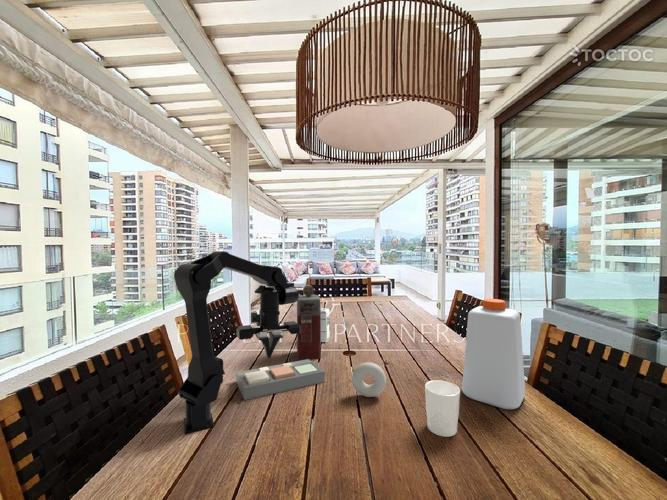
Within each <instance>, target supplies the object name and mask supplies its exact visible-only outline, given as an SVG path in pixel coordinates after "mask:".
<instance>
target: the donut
mask: <svg viewBox="0 0 667 500" xmlns="http://www.w3.org/2000/svg"><path fill="white" fill-rule="evenodd" d="M368 375H369V376H372V377H373V378H374V381H373V383H372V384H367V383H365V382H364V377H365V376H368ZM351 383H352V386H353V388H354V390H355V391H356V392H357V393H358V394H359V395H361V396H363V397H366V398H371V397H372V398H374V397H377V396H379V395H380V394H381V393H382V392H383V391H384V389H386V385H387V376H386V374H385V372H384V370H383V369H382V367H380V365H378V364H376V363H375V362H370V361H369V362H362V363H360V364H358V365H357V366H356V367H355V368H354V370H353V372H352V375H351Z"/></svg>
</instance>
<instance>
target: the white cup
mask: <svg viewBox="0 0 667 500" xmlns="http://www.w3.org/2000/svg"><path fill="white" fill-rule="evenodd" d="M424 389H425V390H424V392H425V410H426V411H425V412H426V418H427V419H426V420H427V421H426V424H427V429H428V430H429V432H431V433H433V434H435V435H437V436H439V437H443V438H444V437H445V438H446V437H447V438H449V437H452V436H456V434H457V433H458V421H459V412H460V411H459V410H460V400H461V399H460V396H461V395H460V394H461V389H460V388H459V387H458V385H456V384H455V383H452V382H450V381H446V380H439V379H437V380H436V379H435V380H429V381H427V382H425V384H424Z"/></svg>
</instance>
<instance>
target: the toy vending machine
mask: <svg viewBox="0 0 667 500" xmlns="http://www.w3.org/2000/svg"><path fill="white" fill-rule="evenodd" d="M314 292H315V289H314V287H313V286H312V285H311V284H307V285H305V286H304V287H303V288H302V293H303V295H301V294H300V295H299V297H298V300H297V301H296V323H298V324H299V325H300V327H301V333H299V334H296V356H297V361H301V360H307V359H309V360H318V359H321V357H322V355H321V353H322V349H321V348H322V347H321V346H322V345H321V344H322V343H321V308H322V307H321V306H322V305H321V304H322V303H321V302H322V301H321V298H320V297H319V295H317V294H314Z"/></svg>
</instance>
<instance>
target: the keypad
mask: <svg viewBox="0 0 667 500" xmlns="http://www.w3.org/2000/svg"><path fill="white" fill-rule="evenodd" d="M306 364H312V365H313V366H314V367H315V368H316V369H317V370H318V371H315V372H310V373H306V374H301V375H300V374H299V373H298V372H297V371H296V370H295V369H294V367H296V366H301V365H306ZM287 365H288V366H289V367H290V368H291V369H292V370H293V371H294V376H291V377H286V378H282V379H277V380H275V379H274V378H273V377H272V375H271V374H270V369H271V368H277V367H282V366H287ZM261 370H265V372H266V373H267V375H268V376H269V381H267V382H262V383H258V384H253V385H247V383H246V381H245V373H250V372H255V371H261ZM235 377H236V378H235V382H236V384H237V385H236V386H238V387H237V388H238V389H239V391H240V393H241V395H242V398H243V400H244V401H248V400H252V399H256V398H259V397H266V396H270V395H273V394H278V393H283V392H287V391H291V390H296V389H300V388H304V387H308V386H313V385H318V384H322V383H325V370H324V369H323V368H322V367H320V366H319V365H318V364H317V363H315V362H314V361H311V359H303V360H297V361H291V362H286V363H281V364H280V363H279V364H276V365H269V366H263V367H259V368H254V369H249V370H243V371H237V372H235Z"/></svg>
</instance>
